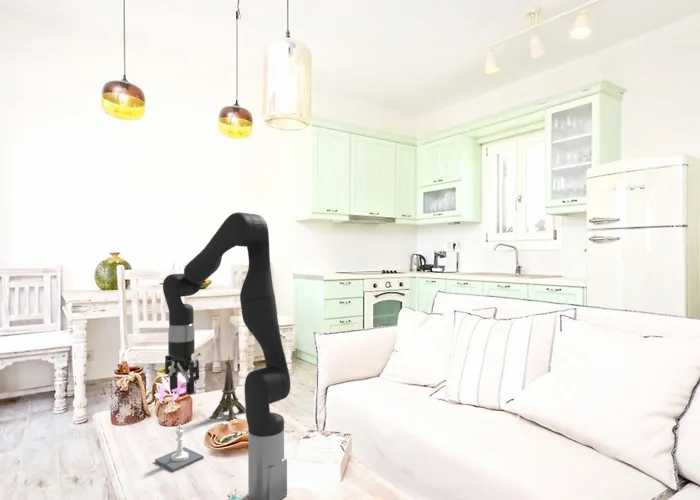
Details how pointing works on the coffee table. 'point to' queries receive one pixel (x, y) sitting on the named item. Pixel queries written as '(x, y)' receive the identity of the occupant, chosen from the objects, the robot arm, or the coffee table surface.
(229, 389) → the eiffel tower
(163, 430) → the coffee table surface
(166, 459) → the slate tile
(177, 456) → the chess piece
